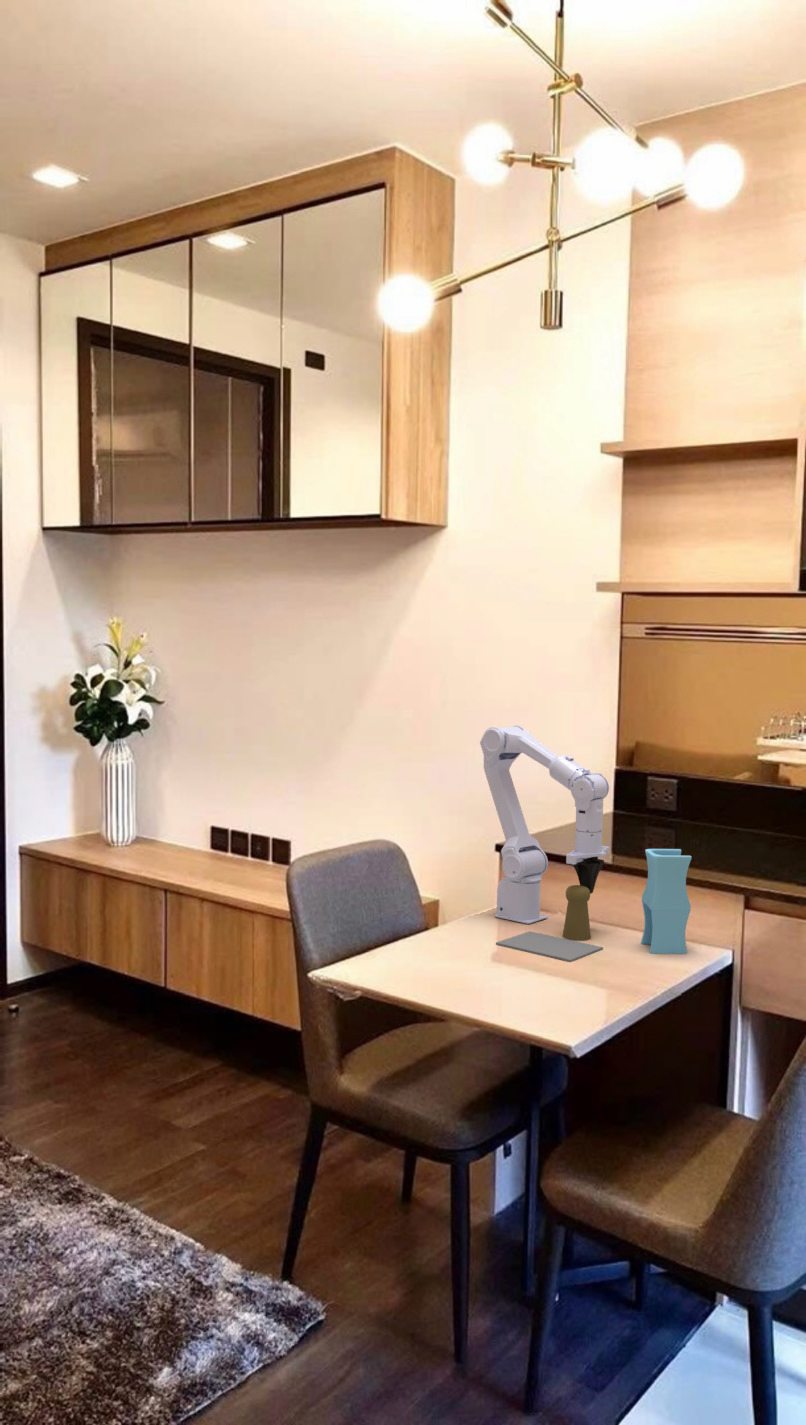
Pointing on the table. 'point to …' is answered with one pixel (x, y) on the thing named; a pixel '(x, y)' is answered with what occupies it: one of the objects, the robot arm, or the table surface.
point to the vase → (666, 901)
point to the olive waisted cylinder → (577, 914)
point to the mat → (550, 946)
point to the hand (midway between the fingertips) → (587, 892)
